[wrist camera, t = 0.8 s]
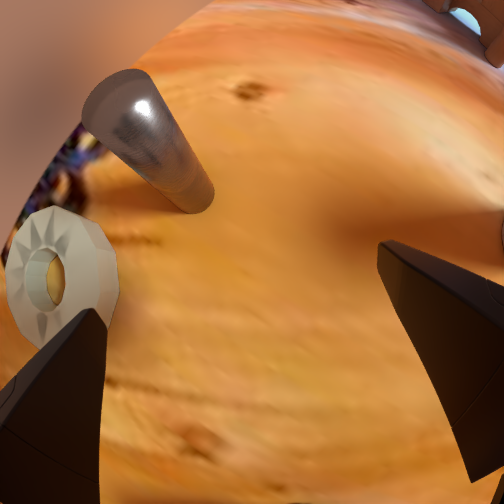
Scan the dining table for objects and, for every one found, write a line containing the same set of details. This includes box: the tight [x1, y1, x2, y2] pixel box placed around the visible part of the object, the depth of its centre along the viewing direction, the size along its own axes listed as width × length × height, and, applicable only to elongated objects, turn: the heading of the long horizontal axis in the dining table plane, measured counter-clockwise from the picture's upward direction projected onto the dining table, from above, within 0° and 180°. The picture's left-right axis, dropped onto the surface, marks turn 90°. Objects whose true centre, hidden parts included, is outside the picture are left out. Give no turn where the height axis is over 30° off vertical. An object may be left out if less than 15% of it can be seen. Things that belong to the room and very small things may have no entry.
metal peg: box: [82, 69, 214, 214], centre depth 15 cm, size 3×3×13 cm
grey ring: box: [5, 205, 120, 350], centre depth 20 cm, size 12×12×3 cm
